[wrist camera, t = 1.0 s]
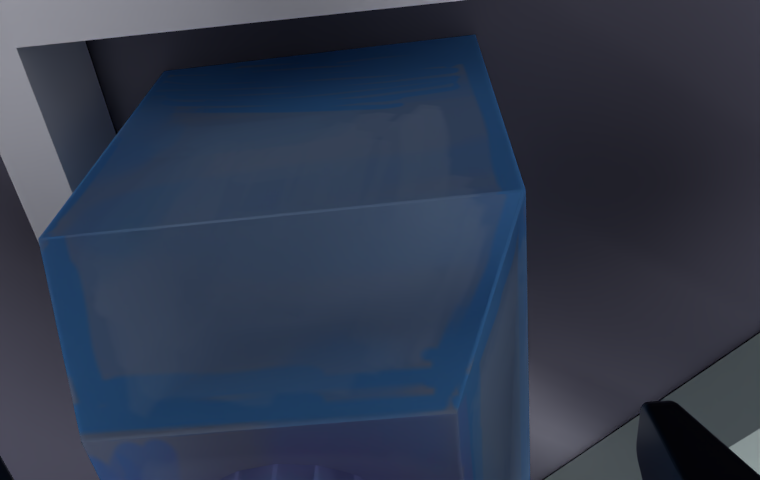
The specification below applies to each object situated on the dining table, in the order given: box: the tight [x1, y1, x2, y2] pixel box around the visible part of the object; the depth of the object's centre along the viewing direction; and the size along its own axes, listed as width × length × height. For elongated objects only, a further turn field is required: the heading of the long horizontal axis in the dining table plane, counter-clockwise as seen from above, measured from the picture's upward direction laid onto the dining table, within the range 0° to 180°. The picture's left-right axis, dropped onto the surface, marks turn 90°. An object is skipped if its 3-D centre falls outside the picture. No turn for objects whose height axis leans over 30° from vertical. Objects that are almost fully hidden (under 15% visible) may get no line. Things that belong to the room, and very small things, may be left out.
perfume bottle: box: [38, 35, 530, 480], centre depth 11 cm, size 6×6×12 cm
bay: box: [0, 0, 463, 243], centre depth 15 cm, size 11×9×2 cm
